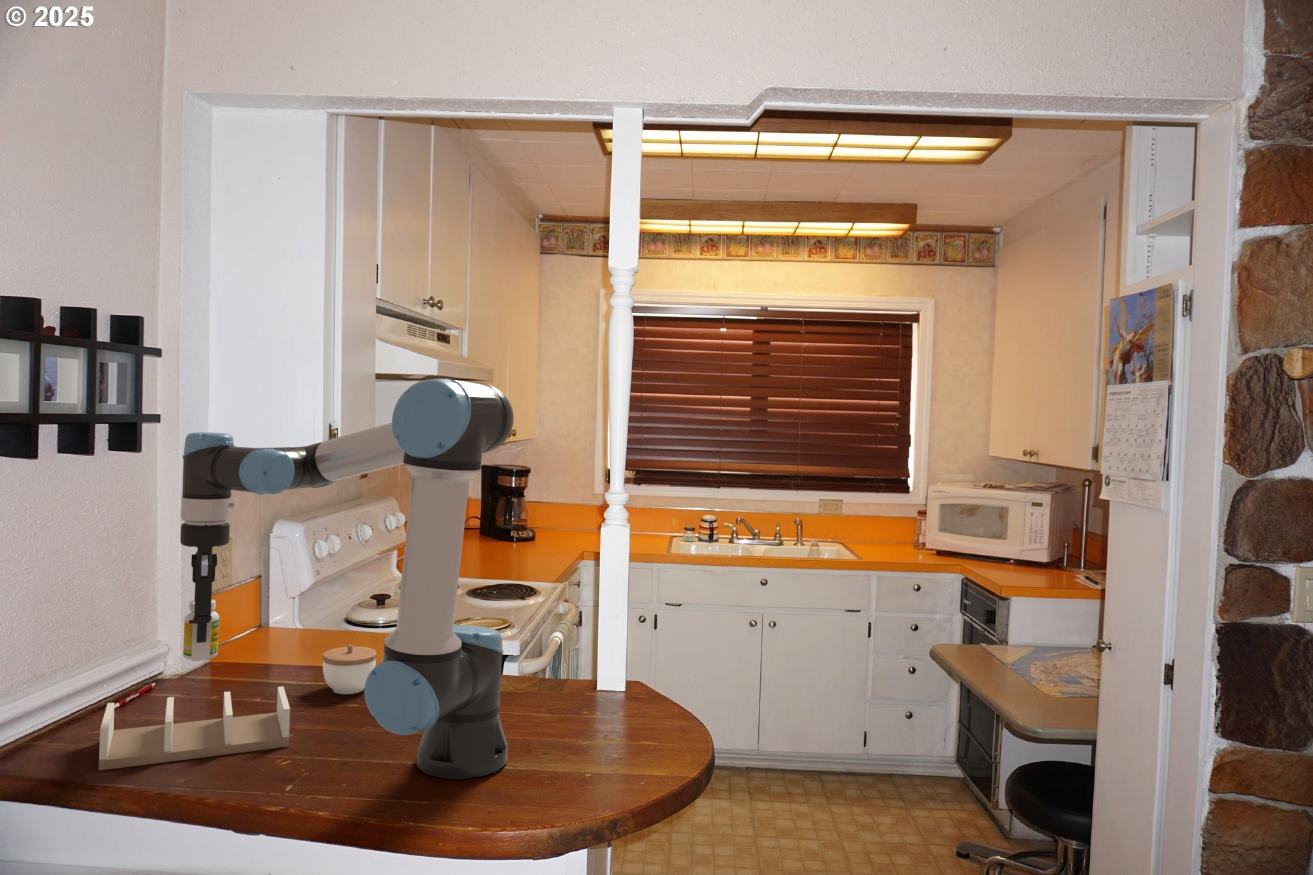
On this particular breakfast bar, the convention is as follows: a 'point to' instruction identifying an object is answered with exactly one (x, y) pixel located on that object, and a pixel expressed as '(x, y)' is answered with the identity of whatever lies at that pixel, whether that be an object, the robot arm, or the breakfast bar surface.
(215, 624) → the supplement bottle
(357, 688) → the lidded jar
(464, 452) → the robot arm
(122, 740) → the rack
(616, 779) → the breakfast bar surface
